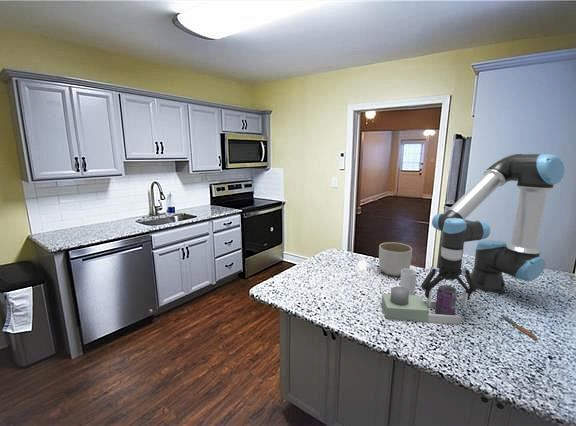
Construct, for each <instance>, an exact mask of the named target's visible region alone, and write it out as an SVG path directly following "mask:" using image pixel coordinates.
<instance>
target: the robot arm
mask: <svg viewBox="0 0 576 426" xmlns="http://www.w3.org/2000/svg"><path fill="white" fill-rule="evenodd" d="M564 174H565V165H564V161H563V159H562V158H561V157H560V156H558V155H555V154H545V153H538V154H537V153H533V154H532V153H528V154H527V153H524V154H523V153H515V154H511V155H507V156H505V157H503V158H502V159H499V160H497V161H496V162H495V163H493V164H492V165H490V166H489V167H487V169H486V170H484V171H483V176H482V177H481V178H480V179H479V180H478V181H477V182H475V183H474V185H473V186H471V187H470V189H468V190H467V191H466V193H464V194H463V195H462V196H461V197H460V198H459V199H458V200H457V201H456V202H455V203H454V204H453V205H452V206H451V207H450V208H448V210H446V212H445V213H437V214H434V216H433V217H432V220H431V224H432V227H433V228H434V229H435V230H437V231H440V232H442V238H441V239H442V240H441V248H440V249H441V250H440V258H439V267H434V266H430V270H429V272H428V274H427V276H425V278H424V280H423V281H422V283H421V284H420V287H421V289H422V290H424V297H425V299H426V300H427V304H428V306H431V300H432V293H433V292H432V289H433V288H435V287H436V286H437V285H438V284H440V282H442V281H444V280H445V281H448V280H449V281H450V280H451V281H455V280H456V281H457V282H458V283H459V284H460V286H461V287H462V288H463V289H464V290H462V297H461V298H462V299H461V306H462V307H463V309H467V306H468V305H467V304H468V301H470V299H471V295H472V294H473V293H476V292H477V290H480V291H483V292H487V293H494V294H495V293H502V292H504V291H505V288H506V287H505V286H506V284H505V280H504V276H503V273H504V274H505V275H509V276H511V277H513V278H515V279H517V280H522V281H525V282H531V281H532V282H533V281H534V280H536V279H537V278H539V277H540V276H541V275H542V273H543V271H544V270H545V268H546V261H545V259H544V258H543V257H541V256H540V254H541V251H540V249H539V248H538V247H537V246H538V241H539V235H540V230H541V226H542V221H543V220H542V219H543V214H544V212H545V211H544V210H545V206H546V200H547V195H548V192H549V191H551V190H553V188H554V185H557V184H559V183H560V182H561V181H562V179H563V177H564V176H565V175H564ZM512 181H515V182H517V184H516V187H517V188H518V189H519V190H520V192H519V197H518V202H517V208H516V215H515V219H514V220H515V221H514V226H513V232H512V238H511V242H510V243H508V244H507V242H505V241H501V240H493V239H492V240H491V239H489V240H487V238H488V237H489V236H490V233H491V228H490V226H489V224H488V223H487V222H486V221H483V220H475V221H472V220H468V219H467V218H468V217H469V216H470V215H471V214H472V213H473V212H474V211H475V210H477V208H478V207H479V206H480V205H481V204H482V203H483V202H485V200H486V199H488V198H489V196H490V195H491V194H492V193H494V192H495V190H497V188H498V187H502V186H504V185H506V183H507V182H512ZM484 239H485V240H484ZM474 241H475V242H476V241H478V242H477V244H476V248H475V255H474V265H473V269H472V271H471V272H470V270H469V269H468V268H466V267H464V268H462V266H463V265H462V264H463V262H462V261H463V256H464V247H465V243H467V242H474ZM436 274H437V275H436ZM461 274H462V275H463V276H464V278H465V281H467V282H466V283H467V285H468V286H467V285H466V284H465V282H464V281H463V280H462V279H461V278H460V275H461ZM435 275H436V276H435Z"/></svg>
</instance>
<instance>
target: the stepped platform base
mask: <svg viewBox="0 0 576 426" xmlns="http://www.w3.org/2000/svg"><path fill="white" fill-rule="evenodd" d="M381 306H382V310H383V312H384V315H385V319H386V320H398V321H411V322H413V321H414V322H427V323H436V324H438V323H439V324H453V325H461V323H462V316H461V315H441V314H436V313H430V310H429V309H431V308H432V309H435V307H436V299H434V300H433V299H431V306H428V304H427V299H423V298H422V296H421V295H415V294H414V295H409V290H408V289H406V288H404V287H400V286H397V285H396V286H392V287H391V289H390V293H381Z"/></svg>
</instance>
